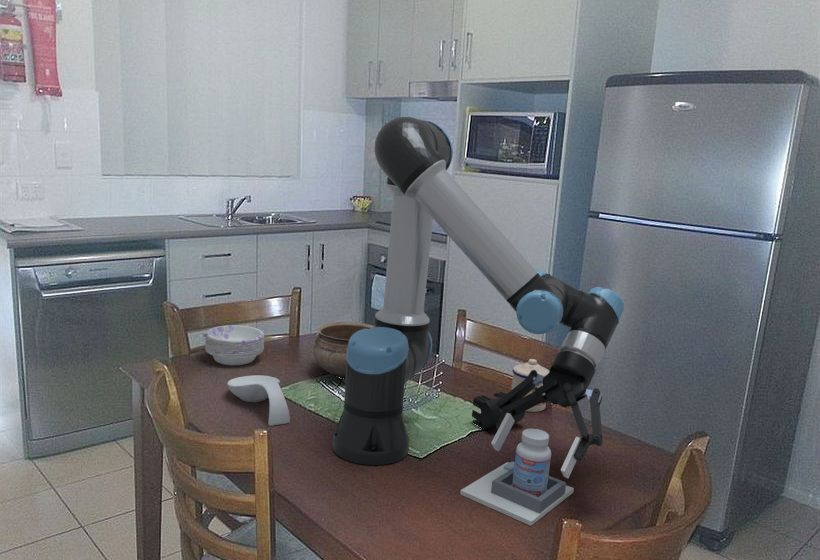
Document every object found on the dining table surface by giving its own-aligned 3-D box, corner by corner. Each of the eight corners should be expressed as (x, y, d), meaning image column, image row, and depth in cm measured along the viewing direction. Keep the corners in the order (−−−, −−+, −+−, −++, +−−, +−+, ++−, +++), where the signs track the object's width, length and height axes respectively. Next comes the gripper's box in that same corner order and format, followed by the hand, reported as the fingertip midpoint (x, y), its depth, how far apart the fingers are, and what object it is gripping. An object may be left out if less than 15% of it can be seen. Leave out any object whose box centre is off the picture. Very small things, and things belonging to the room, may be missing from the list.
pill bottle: (508, 496, 116) (514, 436, 114) (515, 481, 122) (521, 423, 119) (542, 505, 114) (550, 444, 112) (548, 489, 120) (555, 431, 117)
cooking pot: (408, 381, 173) (411, 336, 171) (356, 397, 159) (359, 348, 157) (341, 357, 189) (344, 315, 187) (289, 370, 175) (291, 325, 173)
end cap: (490, 435, 144) (493, 405, 142) (469, 423, 149) (472, 394, 148) (524, 427, 149) (527, 399, 148) (502, 416, 155) (505, 388, 154)
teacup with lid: (529, 415, 157) (534, 368, 154) (501, 402, 164) (506, 357, 161) (561, 406, 164) (567, 361, 162) (533, 394, 171) (538, 351, 169)
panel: (460, 494, 117) (461, 478, 117) (506, 465, 130) (508, 451, 129) (530, 526, 109) (532, 509, 108) (573, 492, 121) (575, 477, 121)
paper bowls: (256, 371, 172) (257, 342, 171) (197, 367, 172) (197, 337, 171) (268, 354, 187) (270, 327, 186) (214, 350, 187) (215, 322, 186)
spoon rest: (220, 391, 157) (221, 362, 156) (268, 386, 163) (269, 358, 162) (253, 430, 137) (255, 397, 136) (307, 422, 143) (308, 390, 142)
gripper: (646, 389, 119) (601, 496, 110) (523, 355, 134) (475, 446, 126) (639, 367, 114) (591, 477, 105) (513, 334, 129) (462, 427, 120)
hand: (528, 460), depth 115 cm, fingers open, 13 cm apart
